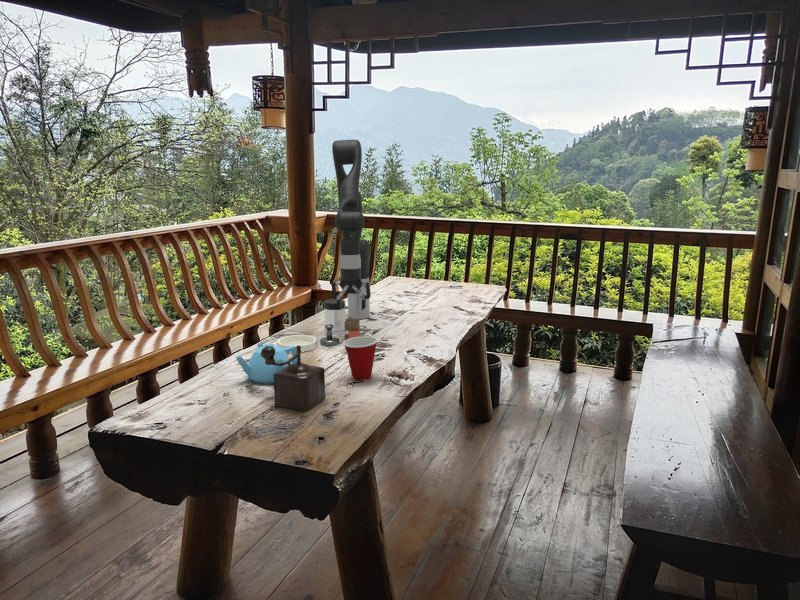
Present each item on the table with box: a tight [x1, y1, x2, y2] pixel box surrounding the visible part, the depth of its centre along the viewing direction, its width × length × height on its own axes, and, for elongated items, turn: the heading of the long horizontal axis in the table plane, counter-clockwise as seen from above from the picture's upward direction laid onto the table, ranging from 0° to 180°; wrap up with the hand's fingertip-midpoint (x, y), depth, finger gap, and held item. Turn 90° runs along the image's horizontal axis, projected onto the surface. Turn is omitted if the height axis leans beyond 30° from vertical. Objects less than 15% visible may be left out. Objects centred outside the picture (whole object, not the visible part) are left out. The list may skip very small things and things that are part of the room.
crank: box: [332, 330, 361, 339], centre depth 219 cm, size 10×2×4 cm, turn 98°
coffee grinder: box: [260, 345, 326, 413], centre depth 161 cm, size 16×11×18 cm
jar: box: [323, 298, 346, 334], centre depth 234 cm, size 9×8×12 cm
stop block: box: [344, 318, 361, 341], centre depth 224 cm, size 5×5×7 cm
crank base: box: [319, 324, 340, 347], centre depth 218 cm, size 7×7×7 cm
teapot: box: [235, 342, 302, 385], centre depth 183 cm, size 15×15×11 cm
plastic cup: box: [342, 335, 379, 381], centre depth 183 cm, size 11×11×12 cm
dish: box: [276, 334, 318, 354], centre depth 214 cm, size 14×14×3 cm
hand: (351, 309), depth 222 cm, fingers open, 8 cm apart
